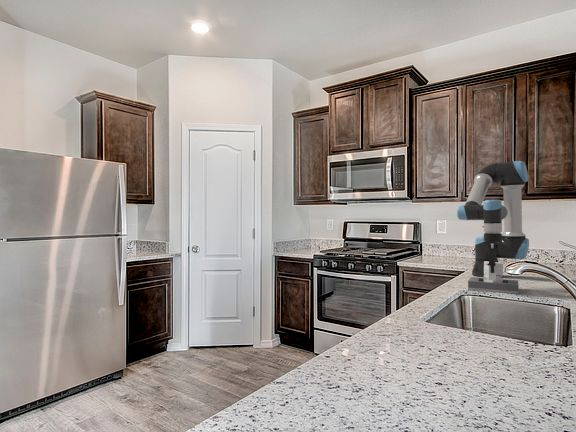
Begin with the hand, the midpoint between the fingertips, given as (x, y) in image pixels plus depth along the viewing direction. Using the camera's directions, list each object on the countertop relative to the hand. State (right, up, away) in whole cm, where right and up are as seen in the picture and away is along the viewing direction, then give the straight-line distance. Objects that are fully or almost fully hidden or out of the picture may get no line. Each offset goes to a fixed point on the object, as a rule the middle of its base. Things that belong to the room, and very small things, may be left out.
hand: (493, 278), depth 176 cm
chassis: (0, -5, 0) cm, 5 cm away
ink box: (0, -4, 0) cm, 4 cm away
